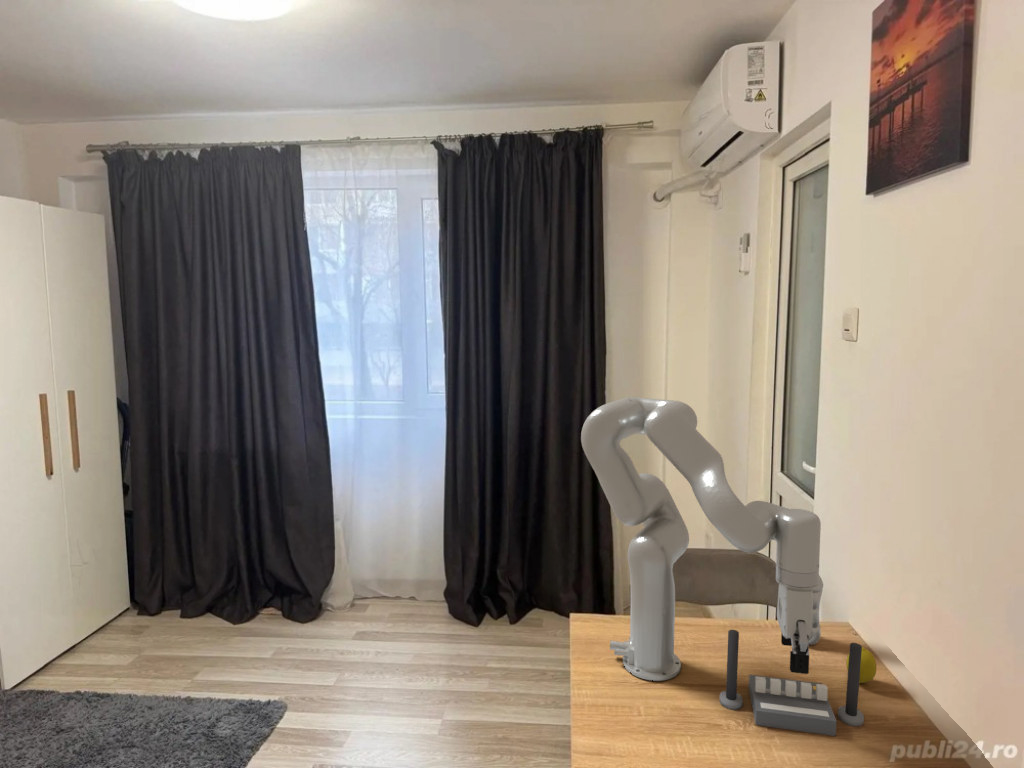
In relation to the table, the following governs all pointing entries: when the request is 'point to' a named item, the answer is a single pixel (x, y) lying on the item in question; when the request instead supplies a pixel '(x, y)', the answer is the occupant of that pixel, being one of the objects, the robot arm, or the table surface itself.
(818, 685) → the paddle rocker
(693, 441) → the robot arm
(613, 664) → the table surface
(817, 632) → the plastic bottle
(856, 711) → the cord post right
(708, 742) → the table surface
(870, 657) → the lemon
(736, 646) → the cord post left
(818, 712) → the breaker panel
